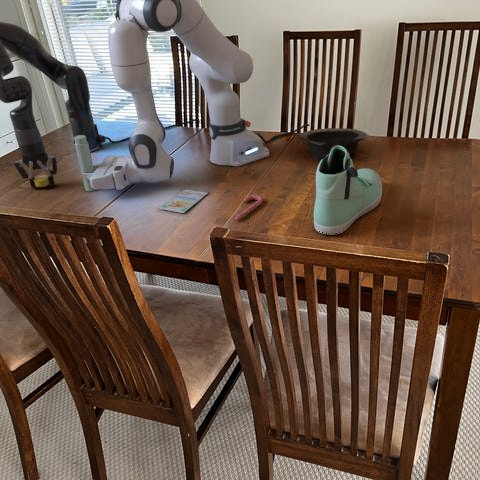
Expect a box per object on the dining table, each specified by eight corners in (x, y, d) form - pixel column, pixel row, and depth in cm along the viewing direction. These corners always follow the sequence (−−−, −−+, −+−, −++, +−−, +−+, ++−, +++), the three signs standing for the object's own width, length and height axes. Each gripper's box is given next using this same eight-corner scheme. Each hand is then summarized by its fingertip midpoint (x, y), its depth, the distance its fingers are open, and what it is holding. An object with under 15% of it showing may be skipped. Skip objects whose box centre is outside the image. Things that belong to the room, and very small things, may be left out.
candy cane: (221, 217, 140) (221, 213, 139) (250, 196, 150) (250, 192, 149) (238, 222, 136) (238, 217, 136) (266, 200, 146) (266, 196, 146)
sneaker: (389, 187, 148) (396, 123, 138) (356, 242, 123) (361, 168, 112) (346, 181, 154) (350, 119, 144) (306, 232, 129) (307, 161, 118)
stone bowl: (326, 172, 161) (325, 145, 157) (286, 155, 181) (284, 131, 177) (383, 154, 170) (384, 128, 165) (339, 140, 190) (339, 116, 186)
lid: (34, 183, 168) (32, 177, 167) (49, 179, 170) (47, 173, 168) (36, 188, 164) (34, 182, 163) (51, 184, 166) (49, 178, 165)
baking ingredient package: (158, 207, 146) (184, 188, 157) (159, 209, 146) (185, 189, 158) (183, 212, 142) (208, 192, 154) (183, 213, 143) (208, 193, 154)
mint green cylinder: (97, 185, 166) (86, 133, 156) (98, 190, 163) (87, 137, 153) (85, 187, 165) (72, 135, 155) (85, 192, 161) (73, 139, 152)
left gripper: (4, 146, 154) (20, 194, 163) (50, 140, 156) (63, 188, 165) (9, 139, 161) (24, 185, 170) (53, 133, 163) (66, 179, 171)
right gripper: (131, 150, 167) (92, 152, 168) (116, 173, 149) (72, 175, 150) (134, 166, 170) (96, 168, 171) (120, 192, 153) (77, 194, 154)
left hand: (43, 186), depth 167 cm, fingers closed on lid, 5 cm apart
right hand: (85, 172), depth 161 cm, fingers closed on mint green cylinder, 4 cm apart
